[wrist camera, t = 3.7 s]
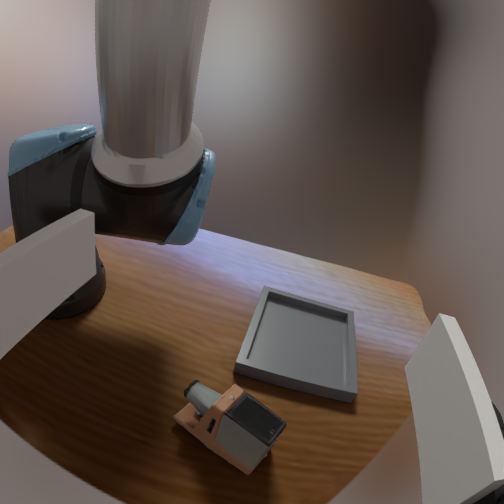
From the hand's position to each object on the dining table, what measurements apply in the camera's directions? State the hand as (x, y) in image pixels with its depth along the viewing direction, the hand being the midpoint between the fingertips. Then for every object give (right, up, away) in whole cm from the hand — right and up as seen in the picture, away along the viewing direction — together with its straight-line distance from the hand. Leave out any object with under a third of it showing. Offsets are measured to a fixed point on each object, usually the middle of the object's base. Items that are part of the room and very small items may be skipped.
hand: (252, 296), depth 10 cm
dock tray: (+7, -11, +31) cm, 34 cm away
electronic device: (-3, -17, +17) cm, 24 cm away
